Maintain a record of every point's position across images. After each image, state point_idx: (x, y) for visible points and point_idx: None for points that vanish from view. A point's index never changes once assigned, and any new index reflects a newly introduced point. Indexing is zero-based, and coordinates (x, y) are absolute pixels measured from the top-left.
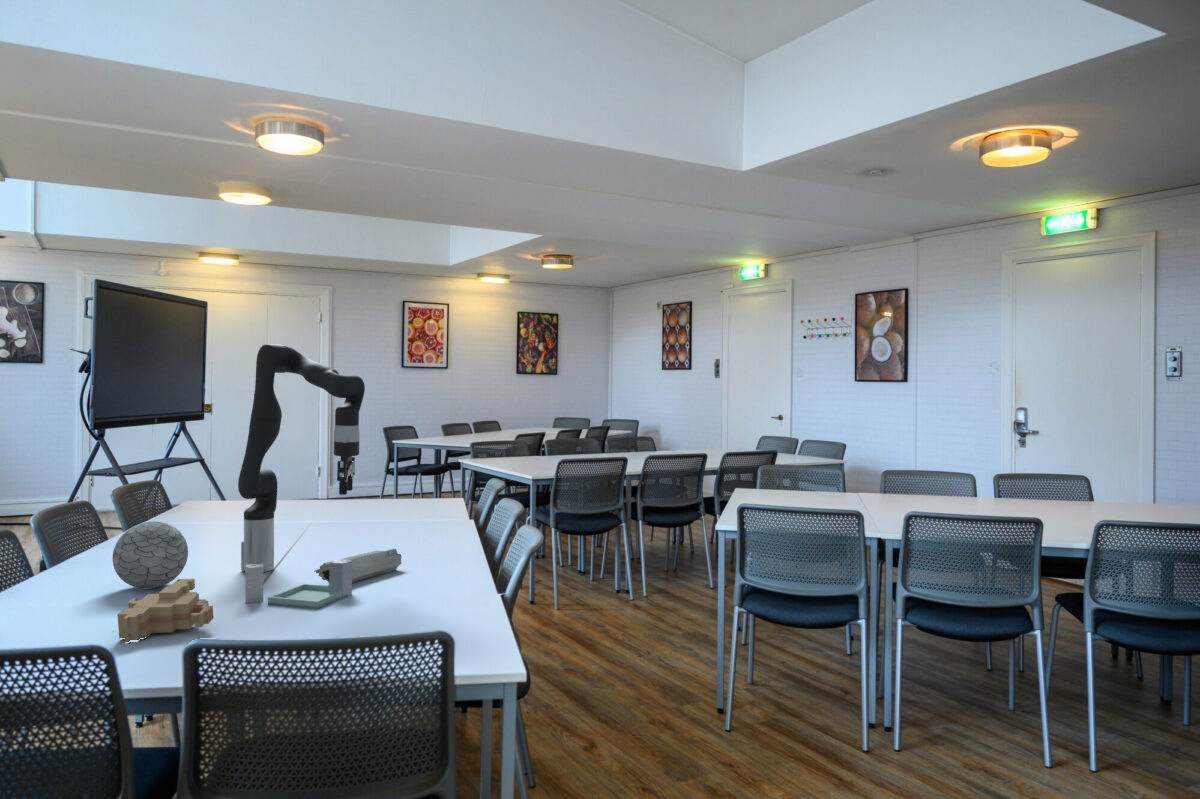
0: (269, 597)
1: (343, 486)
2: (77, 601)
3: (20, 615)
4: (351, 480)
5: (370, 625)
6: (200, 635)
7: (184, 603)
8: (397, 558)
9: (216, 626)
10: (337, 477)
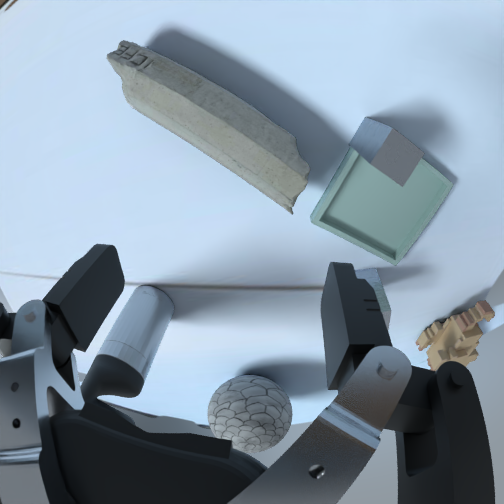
0: (397, 263)
1: (381, 331)
2: (299, 405)
3: None
4: (69, 299)
5: None
6: (480, 297)
7: (480, 336)
8: (136, 45)
9: (461, 293)
10: (430, 432)
